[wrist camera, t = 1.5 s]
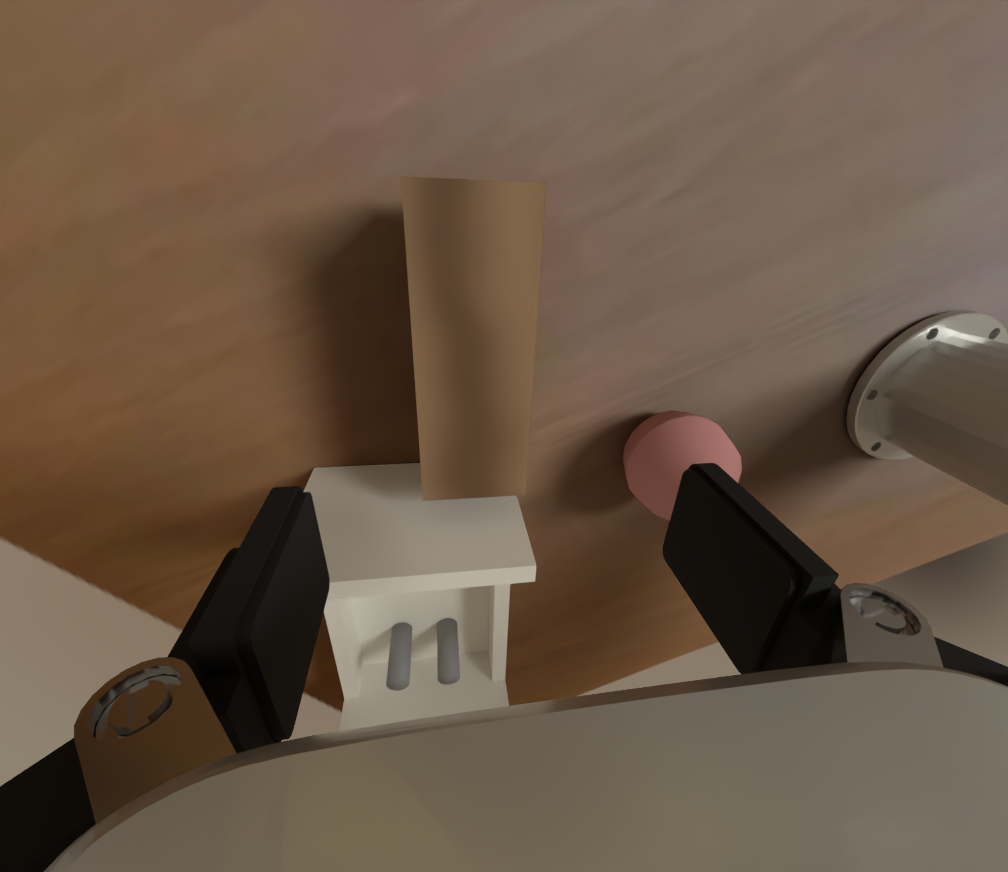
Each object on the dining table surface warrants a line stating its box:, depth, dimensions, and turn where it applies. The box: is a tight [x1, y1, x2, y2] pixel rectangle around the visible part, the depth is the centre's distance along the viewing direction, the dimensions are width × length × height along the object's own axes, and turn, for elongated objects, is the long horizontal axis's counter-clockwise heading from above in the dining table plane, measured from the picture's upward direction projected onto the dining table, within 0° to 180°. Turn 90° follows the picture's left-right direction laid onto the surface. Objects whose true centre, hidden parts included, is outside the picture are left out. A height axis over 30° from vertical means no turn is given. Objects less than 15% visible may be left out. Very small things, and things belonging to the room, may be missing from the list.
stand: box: [303, 463, 536, 731], centre depth 32 cm, size 14×22×11 cm, turn 178°
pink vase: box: [623, 411, 742, 521], centre depth 29 cm, size 8×8×12 cm
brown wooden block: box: [401, 177, 547, 501], centre depth 24 cm, size 6×16×5 cm, turn 178°
